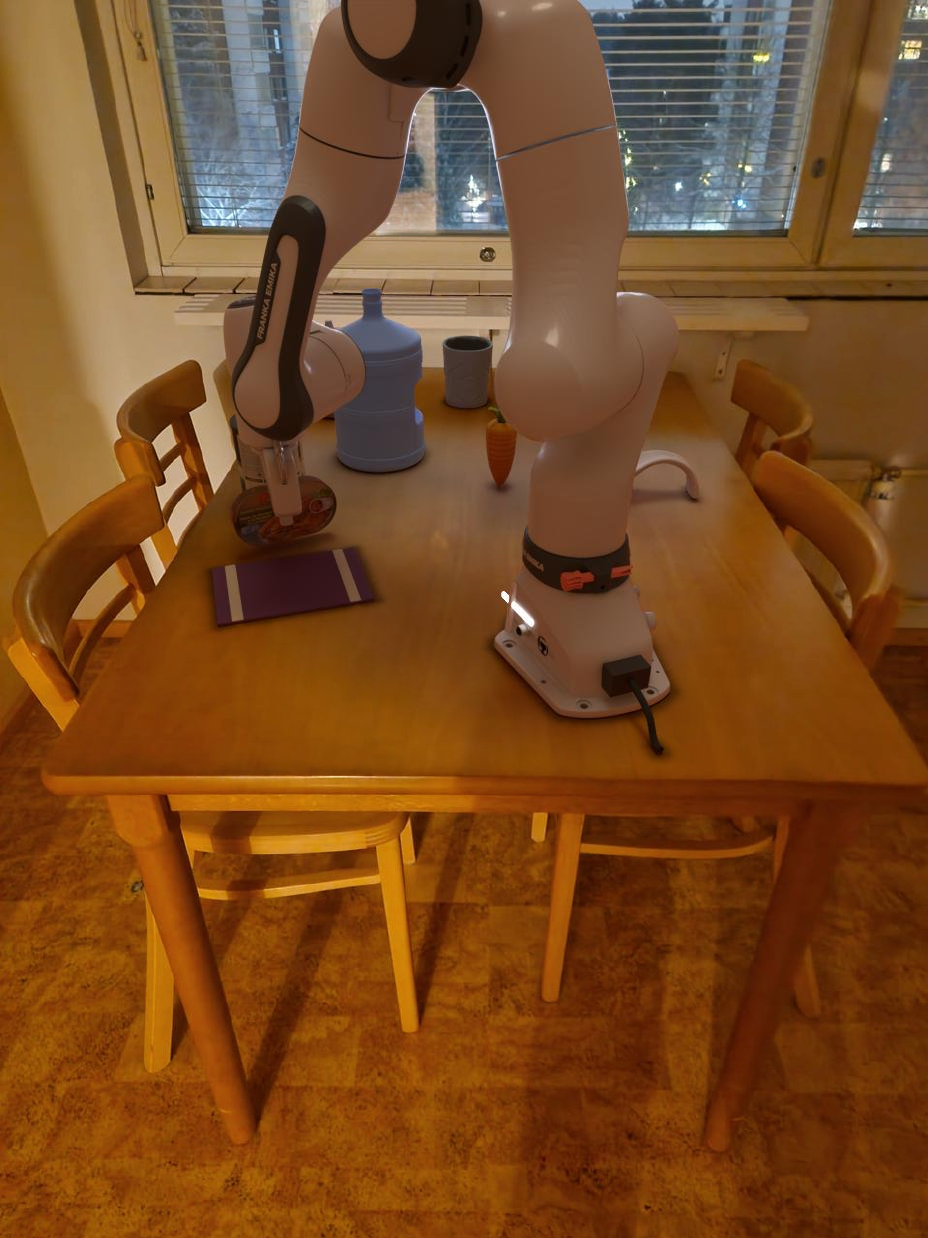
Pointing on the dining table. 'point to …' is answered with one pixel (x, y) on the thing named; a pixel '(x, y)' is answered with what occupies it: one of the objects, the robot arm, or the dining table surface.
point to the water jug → (382, 395)
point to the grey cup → (467, 370)
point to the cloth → (289, 586)
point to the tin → (264, 528)
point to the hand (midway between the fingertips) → (284, 516)
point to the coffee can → (256, 460)
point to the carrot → (500, 447)
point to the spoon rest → (668, 457)
